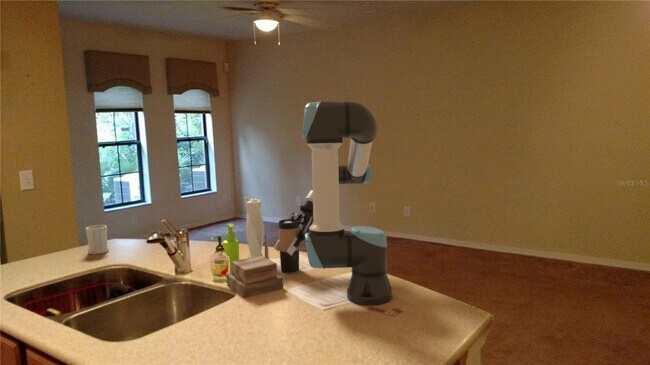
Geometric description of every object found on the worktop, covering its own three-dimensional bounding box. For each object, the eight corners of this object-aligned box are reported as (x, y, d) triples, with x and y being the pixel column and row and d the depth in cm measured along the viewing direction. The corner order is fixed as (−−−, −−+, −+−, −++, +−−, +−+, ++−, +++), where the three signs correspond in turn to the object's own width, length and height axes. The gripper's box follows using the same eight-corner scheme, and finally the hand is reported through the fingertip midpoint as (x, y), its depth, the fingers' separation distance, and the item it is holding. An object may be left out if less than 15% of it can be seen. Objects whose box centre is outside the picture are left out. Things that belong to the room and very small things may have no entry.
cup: (80, 254, 215) (78, 228, 213) (93, 248, 224) (91, 224, 222) (101, 254, 213) (98, 229, 211) (113, 249, 222) (111, 224, 220)
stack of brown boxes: (283, 288, 166) (282, 263, 165) (244, 297, 158) (242, 272, 156) (264, 276, 178) (263, 253, 177) (227, 285, 170) (225, 261, 169)
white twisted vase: (251, 264, 193) (247, 198, 189) (244, 260, 200) (240, 195, 196) (269, 261, 197) (267, 196, 194) (262, 256, 204) (259, 193, 201)
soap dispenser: (227, 277, 178) (225, 226, 175) (223, 272, 184) (220, 223, 181) (242, 275, 181) (240, 224, 178) (237, 270, 187) (235, 221, 184)
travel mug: (301, 267, 188) (299, 218, 186) (298, 273, 181) (296, 223, 178) (282, 267, 189) (280, 218, 186) (278, 273, 182) (276, 223, 179)
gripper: (334, 213, 185) (305, 261, 176) (301, 206, 200) (272, 251, 191) (324, 201, 181) (293, 251, 172) (291, 196, 195) (261, 241, 187)
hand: (282, 251), depth 181 cm, fingers closed on travel mug, 7 cm apart
